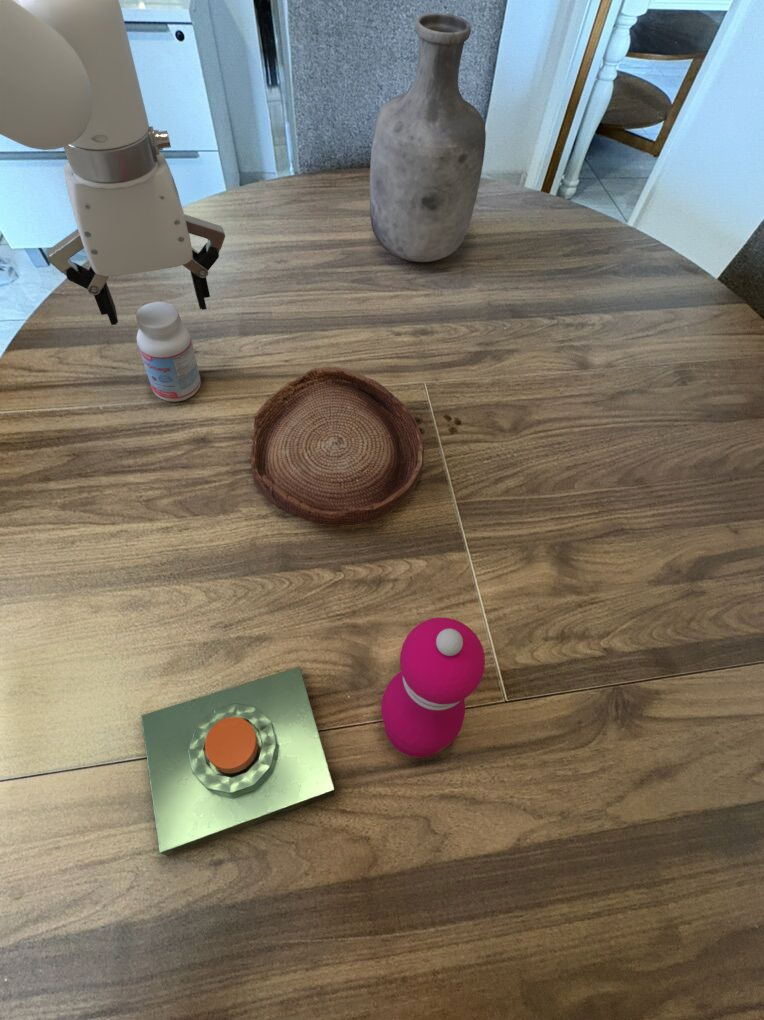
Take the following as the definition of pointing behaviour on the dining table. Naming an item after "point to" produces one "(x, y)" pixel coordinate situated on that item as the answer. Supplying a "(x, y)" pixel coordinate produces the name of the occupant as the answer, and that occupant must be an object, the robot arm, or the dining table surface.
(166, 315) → the pill bottle
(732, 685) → the dining table surface
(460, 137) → the vase
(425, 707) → the pepper mill
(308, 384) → the basket
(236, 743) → the button
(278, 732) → the green button base
